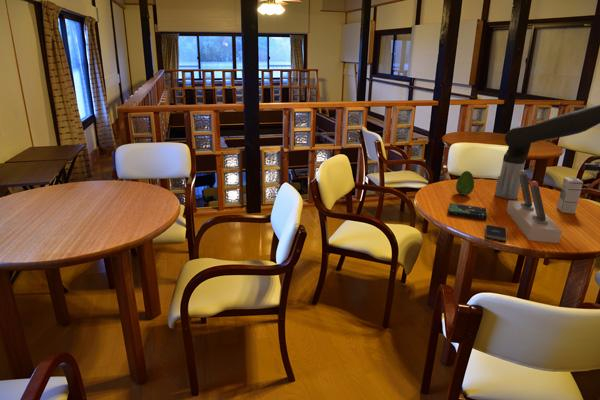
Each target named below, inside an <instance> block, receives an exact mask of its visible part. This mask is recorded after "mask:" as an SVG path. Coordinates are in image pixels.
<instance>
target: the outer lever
mask: <svg viewBox="0 0 600 400" xmlns="http://www.w3.org/2000/svg"><path fill="white" fill-rule="evenodd" d="M528 184H529V190H530V194H531V196H532V197H531V198H532V203H534V206H535V210H536V215H537V216H538V217H539V218H540V219H541V220H542V221H545V220H546V217H545V214H546V213H545V210H544V209H545V208H544V204H543V199H542V195H541V191H540V187H539V186H540V185H539V183H538V181H536V180H532V181H530V182H528Z"/></svg>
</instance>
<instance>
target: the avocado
mask: <svg viewBox="0 0 600 400" xmlns="http://www.w3.org/2000/svg"><path fill="white" fill-rule="evenodd" d="M455 188H456V192H457V193H458V194H459V195H461V196H467V195H471V193H472V192H473V191H474V188H475V179H474V176H473V173H472V172H470V171H469V170H465V171H463V172H462V173H461V174H460V176H459V177H458V179H457V180H456V183H455Z"/></svg>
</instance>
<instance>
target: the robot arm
mask: <svg viewBox="0 0 600 400" xmlns="http://www.w3.org/2000/svg"><path fill="white" fill-rule="evenodd" d="M599 124H600V104H598V105H594V106H589V107H586V108H582V109H578V110H574V111H570V112H567V113H564V114H563V113H562V114H561V115H558V116H557V115H556V116H554V117H552V118H549V119H547V120H544V121H541V122H537V123H535V124H532V125H527V126H516V127H513V128H511V129H509V131H507V133H505V136H504V143H505V144H506V145H507V146H508V147H507V150H506V152H505V153H504V154H503V159H502V163H501V167H500V168H501V169H500V174H499V176H498V177H497V181H496V187H495V191H494V196H496V197H499V198H502V199H504V200H505V199H506V200H517V199H518V197H519V191H520V188H521V183H520V178H519V171H520V170H525V169H524V168H525V164H526V161H527V158H528V156H529V152H530V150H531V149H530V148H531V146H532V143H536V142H539V141H543V140H552V139H553V140H554V139H558V138H563V137H569V136H572V135H576V134H577V135H578V134H580V133H584V132H586V131H588V130H590V129H592V128H594V127H595V126H598V125H599ZM582 170H584V171H591V172H596V173H600V161H595V162H594V163H589V162H587V163H586V162H585V163H584V164H583V166H582Z"/></svg>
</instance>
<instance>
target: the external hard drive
mask: <svg viewBox="0 0 600 400" xmlns="http://www.w3.org/2000/svg"><path fill="white" fill-rule="evenodd" d="M484 231H485V233H484V235H485V236H484V238H485V239H486V240H490V241H495V242H500V243H501V242H502V243H507V239H508V237H507V228H506V227H503V226H497V225H491V224H486V225H485V230H484Z"/></svg>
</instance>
